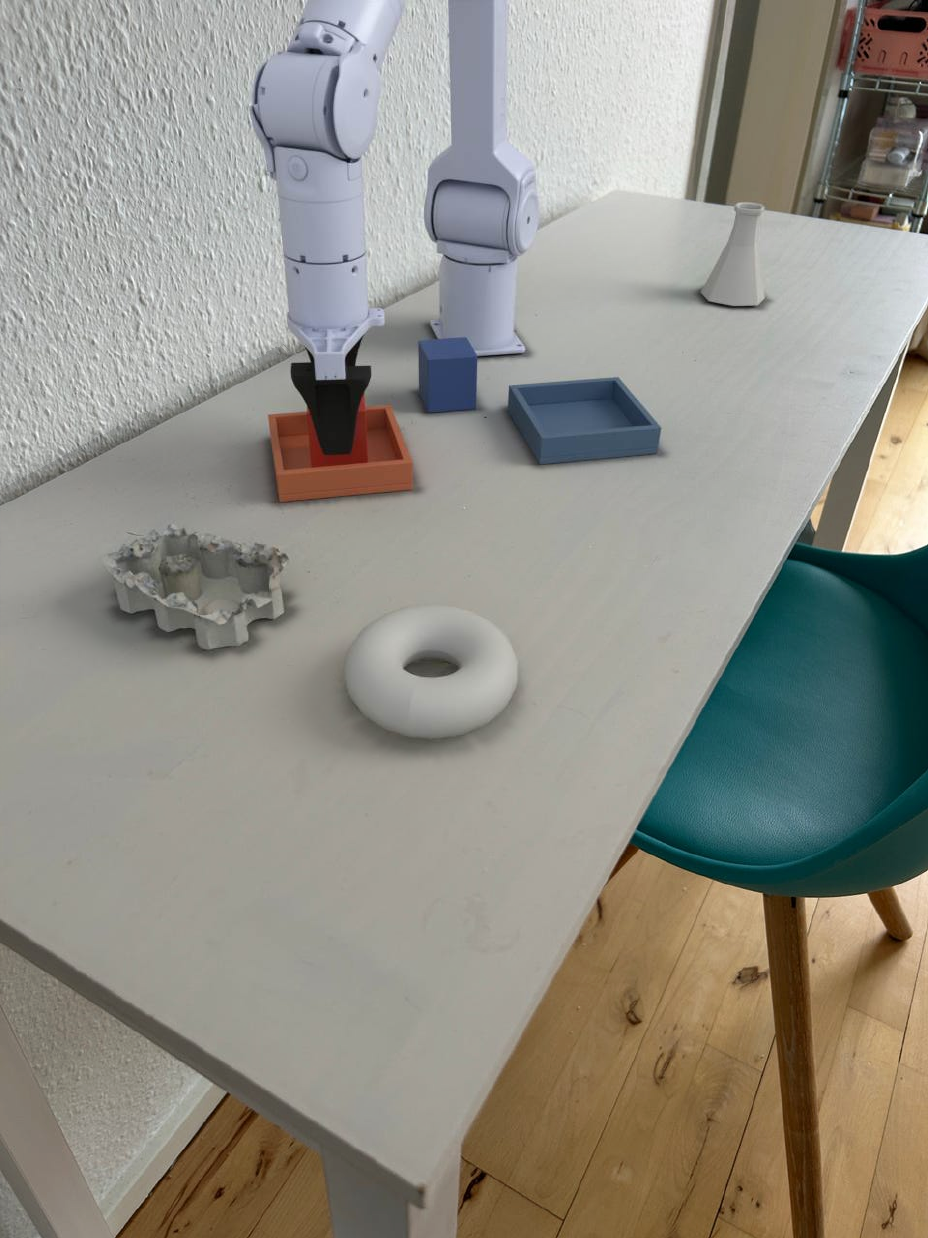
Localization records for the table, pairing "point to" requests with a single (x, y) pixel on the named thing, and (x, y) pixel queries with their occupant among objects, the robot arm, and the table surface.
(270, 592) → the egg carton
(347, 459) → the red block
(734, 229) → the flask
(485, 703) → the donut
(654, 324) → the table surface
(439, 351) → the blue block
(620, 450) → the blue tray
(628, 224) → the table surface
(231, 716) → the table surface
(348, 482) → the orange tray
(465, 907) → the table surface
